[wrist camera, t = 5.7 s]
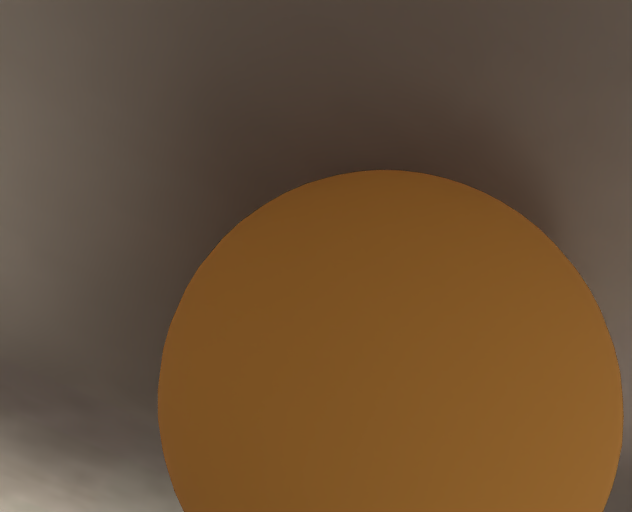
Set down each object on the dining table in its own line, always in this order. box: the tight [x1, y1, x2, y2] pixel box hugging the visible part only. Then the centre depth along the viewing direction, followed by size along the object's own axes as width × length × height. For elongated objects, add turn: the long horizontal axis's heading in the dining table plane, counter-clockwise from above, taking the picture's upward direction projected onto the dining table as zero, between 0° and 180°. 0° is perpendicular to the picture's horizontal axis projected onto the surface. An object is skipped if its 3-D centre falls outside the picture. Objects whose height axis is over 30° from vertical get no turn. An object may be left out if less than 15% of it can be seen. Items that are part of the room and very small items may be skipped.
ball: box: [158, 170, 624, 512], centre depth 8 cm, size 6×6×6 cm
